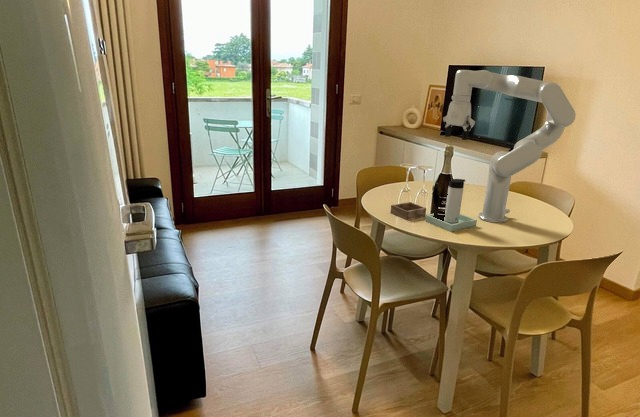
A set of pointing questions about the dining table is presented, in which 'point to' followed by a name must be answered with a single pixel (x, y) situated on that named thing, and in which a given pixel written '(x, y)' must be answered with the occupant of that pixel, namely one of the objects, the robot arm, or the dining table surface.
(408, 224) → the dining table surface
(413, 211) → the brown wooden open box
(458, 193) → the travel mug
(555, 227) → the dining table surface
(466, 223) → the tray
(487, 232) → the dining table surface
